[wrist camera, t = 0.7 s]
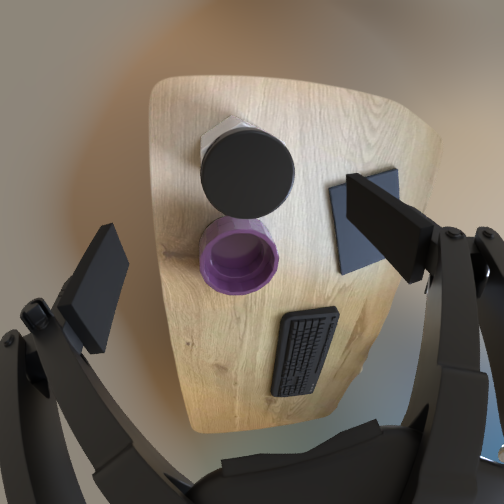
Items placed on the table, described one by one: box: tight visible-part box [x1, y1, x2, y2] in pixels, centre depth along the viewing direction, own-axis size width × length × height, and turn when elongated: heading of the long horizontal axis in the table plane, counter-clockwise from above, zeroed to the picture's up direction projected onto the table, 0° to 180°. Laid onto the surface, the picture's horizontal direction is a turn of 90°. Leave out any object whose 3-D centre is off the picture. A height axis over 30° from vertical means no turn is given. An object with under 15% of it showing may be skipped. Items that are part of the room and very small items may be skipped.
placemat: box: [329, 169, 399, 275], centre depth 42 cm, size 16×12×1 cm
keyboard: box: [271, 306, 340, 397], centre depth 57 cm, size 30×11×2 cm, turn 179°
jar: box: [200, 115, 295, 219], centre depth 28 cm, size 9×8×12 cm
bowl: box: [199, 216, 279, 295], centre depth 39 cm, size 10×10×5 cm
